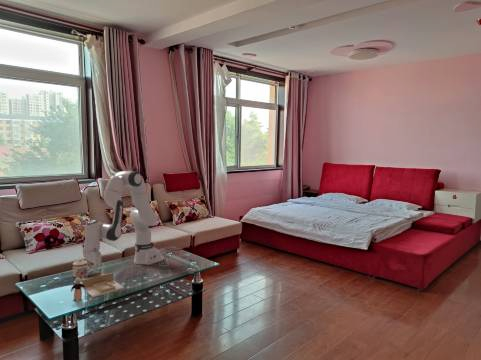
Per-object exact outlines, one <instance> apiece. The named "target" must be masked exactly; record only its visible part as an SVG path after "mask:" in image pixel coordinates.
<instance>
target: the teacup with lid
mask: <svg viewBox="0 0 481 360" xmlns="http://www.w3.org/2000/svg"><path fill="white" fill-rule="evenodd" d="M89 267H90V268H89V269H88V266H87V260H84V259H82V258H78V260H76V261H74V262H73V263H72V277H74V278H78V277H79V278H83V277H85V273H88V272H91V270H92V269H93V265H92V264H91V266H89Z"/></svg>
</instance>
